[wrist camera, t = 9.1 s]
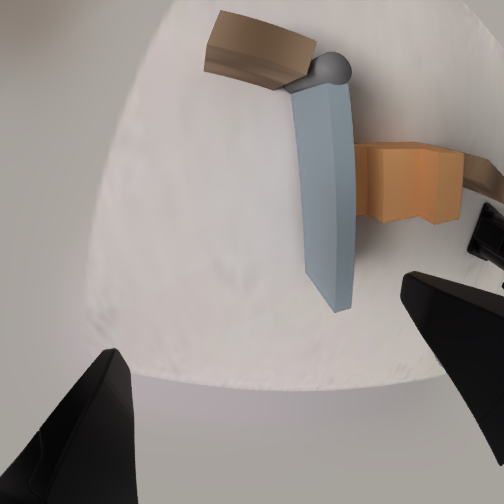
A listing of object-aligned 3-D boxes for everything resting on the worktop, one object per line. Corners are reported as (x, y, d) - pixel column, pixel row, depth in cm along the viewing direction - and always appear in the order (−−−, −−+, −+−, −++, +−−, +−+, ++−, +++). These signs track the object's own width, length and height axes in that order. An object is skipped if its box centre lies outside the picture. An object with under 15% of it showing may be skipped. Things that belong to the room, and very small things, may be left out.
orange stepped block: (314, 213, 21) (351, 243, 15) (309, 146, 18) (350, 156, 13) (413, 197, 22) (459, 218, 17) (413, 142, 20) (463, 153, 14)
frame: (466, 168, 21) (510, 184, 16) (461, 186, 22) (504, 204, 17) (212, 45, 14) (220, 10, 9) (203, 71, 15) (206, 44, 9)
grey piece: (281, 71, 15) (316, 50, 10) (306, 71, 16) (349, 53, 11) (300, 270, 22) (330, 314, 17) (321, 266, 22) (355, 306, 17)
